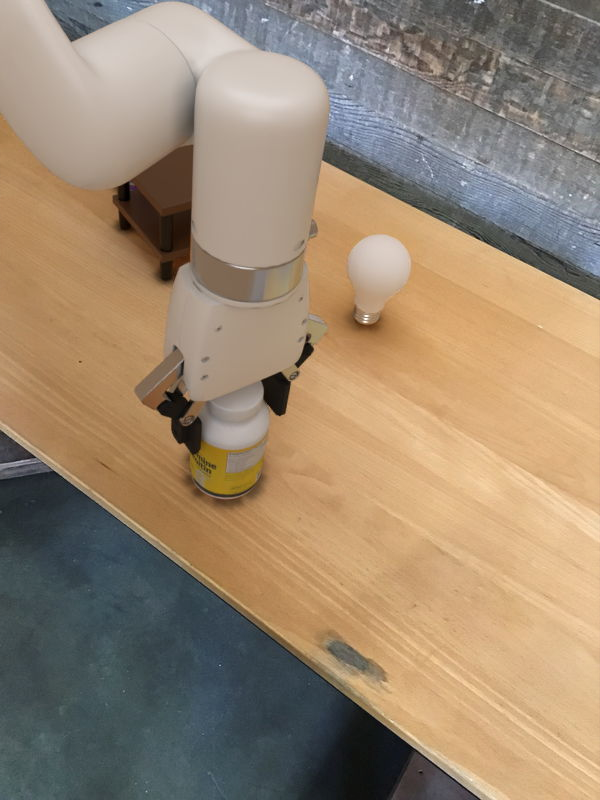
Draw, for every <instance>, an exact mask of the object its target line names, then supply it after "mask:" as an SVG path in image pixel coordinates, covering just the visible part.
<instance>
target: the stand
mask: <svg viewBox="0 0 600 800" xmlns="http://www.w3.org/2000/svg"><path fill="white" fill-rule="evenodd" d="M192 179H193V145H188V146H183V147H179V148H177V149H175V150H174V151H172V152H171V153H169V154H168V155H166V156H165V157H164V158H162V159H161V160H159V161H158V162H156V163H155V164H153V165H152V166H150V167H149V168H148V169H146V170H145V171H143V172H142V173H140V174H139V175H137V176H136V177H134V178H133V179H131V181H132V182H133V183H134V185H135V186H136V187H137V188H138V189H136V190H132V191H130V181H128V182H126V183H124V184H123V185H120V186H118V187H116V190H117V191H116V192H117V194H113V195H111V196H112V198H111V199H112V203H113V205H114V206H115V207H116V208H117V210H118V226H119V229H120V230H123V231H129V230H131V229H132V228H133V229H134V231H135V232H136V233H137V234H138V236H140V237H141V239H142V240H143V241H144V243H146V245H147V246H148V248H150V250H151V251H152V252H153V254H154V255H155V256H156V257H157V258H158V260H159V278H160V279H161V281H165V282H169V281H171V280H172V279H173V277H174V275H173V274H174V273H173V271H174V270H173V269H174V265H173V263H174V260H178V259H181V258H183V257H187V256H190V244H191V212H192Z"/></svg>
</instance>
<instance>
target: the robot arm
mask: <svg viewBox="0 0 600 800" xmlns="http://www.w3.org/2000/svg"><path fill="white" fill-rule="evenodd" d="M330 99H331V98H330V94H329V89H328V88H327V86H326V84H325V82H324V80H323V78H322V77H321V76H320V75H319V73H317V72H316V71H315V70H314V69H313V68H312V67H310V66H309V65H307V64H306V63H305V62H303V61H301V60H298V59H297V58H294V57H292V56H288V55H286V54H283V53H282V54H281V53H280V52H279V53H278V52H273V51H267V50H261V49H260V48H258V47H257V46H255V45H253V44H252V43H251V42H249V41H247V40H246V39H244V38H243V37H241V35H239V34H237V33H236V32H235V31H233V30H232V29H230V28H229V27H227V26H226V24H223V23H222V22H221V21H220V20H218V19H217V18H215V17H214V16H212V15H210V13H207V12H206V11H205V10H203V9H201V8H199V7H196V6H194V5H192V4H189V3H188V2H181V1H167V0H166V1H163V2H158V3H155V4H153V5H149V6H146V7H145V8H143V9H141V10H139V11H137V12H134V13H132V14H130V15H127V16H126V17H124V18H122V19H119V20H116V21H114V22H111V23H109V24H107V25H105V26H103V27H101V28H99V29H97V30H94V31H92V32H90V33H87V34H86V35H84V36H81V37H80V38H77V39H75V40H73V41H71V40H70V38H69V37H68V35H67V34H66V32H65V31H64V29H63V28H62V27H61V25H60V23H59V22H58V20H57V19H56V17H55V16H54V14H53V12H52V11H51V9H50V7H49V6H48V4H47V2H46V1H45V0H0V114H1V116H2V117H3V118H4V120H5V121H6V122H7V124H8V126H9V127H10V128H11V129H12V131H13V132H14V133H15V135H16V136H17V138H18V139H19V141H20V142H22V144H23V145H24V146H25V147H26V148H27V150H28V151H29V152H30V153H31V155H32V156H33V157H34V158H35V159H36V161H38V162H39V163H40V164H41V165H42V166H43V167H44V168H45V169H46V170H47V171H49V172H50V173H51V174H52V175H53V176H55V178H57V179H59V180H61V181H62V182H63V183H66V184H68V185H69V186H71V187H73V188H77V189H80V190H83V191H87V192H103V191H108V190H112V189H115V188H117V187H118V186H120V185H123V184H124V183H126V182H128V181H130V180H131V179H133V178H134V177H136V176H137V175H139V174H140V173H142V172H143V171H145V170H146V169H148V168H149V167H150V166H152V165H153V164H155V163H156V162H158V161H159V160H161V159H162V158H164V157H165V156H166V155H168V154H169V153H171V152H172V151H174V150H175V149H177V148H179V147H183V146H188V145H193V179H192V212H191V244H190V255H189V261H188V262H186V263H184V264H182V265H181V266H179V268H178V270H177V272H176V276H175V279H174V282H173V285H172V289H171V292H170V296H169V301H168V304H167V314H166V317H165V318H166V319H165V328H164V337H163V338H164V339H163V352H162V353H163V360H162V362H160V363H159V364H157V366H156V367H155V368H154V369H153V370H152V371H151V372H149V374H148V375H147V376H146V377H145V378H143V379H142V380H141V381H140V382H139V383H138V384H137V385H136V386H135V388H134V390H133V392H134V394H135V395H136V397H137V398H138V399H139V401H140V402H141V404H142V405H143V406H145V407H147V408H149V409H151V410H153V411H156V412H158V413H159V414H160V415H161V417H165V418H168V419H170V430H171V431H170V432H171V435H172V437H173V438H174V440H175V441H176V442H177V443H178V445H182V444H184V446H185V447H186V448H187V450H188V451H189V454H190V453H191V454H192V455H194V454H197V453H199V450H201V434H202V422H201V420H200V418H199V417H198V415H199V413H200V411H201V410H202V408H203V407H204V405H205V404H206V402H207V401H208V400H212V399H215V398H218V397H220V396H223V395H225V394H228V393H230V392H233V391H235V390H238V389H240V388H243V387H245V386H248V385H250V384H252V383H255V382H257V381H260V380H261V382H262V385H263V389H264V394H263V399H264V401H265V402H266V404H267V406H268V408H269V409H270V410H271V411H272V412H273V413H274V415H275V416H277V417H282V416H284V415H286V412H287V407H288V403H289V402H288V401H289V397H290V390H291V386H292V382H294V381H296V380H297V379H298V378H299V376H300V375H301V371H300V369H299V368H300V367H301V366H302V365H303V364H304V363H305V362H306V361H307V360H308V359H309V358H310V357H311V356H312V354H313V353H314V351H315V348H314V346H316V345H317V344H318V343H319V342H320V341H321V339H322V338H323V337H324V336H325V334H326V333H327V332H328V330H329V325H328V324H327V323H326V322H325V320H324V319H323V318H322V317H321V316H320V315H317V314H315V313H311V312H310V302H311V301H310V298H311V294H310V293H311V292H310V291H311V290H310V278H309V277H310V276H309V270H308V269H309V268H308V265H307V262H306V260H305V259H306V253H307V248H308V243H309V241H310V240H311V239H314V238H316V237H317V236H318V234H319V229H318V224H317V223H316V221H315V220H314V219H313V213H314V209H315V203H316V196H317V191H318V186H319V180H320V174H321V169H322V162H323V156H324V151H325V145H326V140H327V135H328V134H327V133H328V128H329V123H330V113H331V100H330ZM187 391H188V397H189V400H188V399H187V397H186V396H185V395H186V393H187Z"/></svg>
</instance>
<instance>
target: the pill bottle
mask: <svg viewBox="0 0 600 800" xmlns="http://www.w3.org/2000/svg"><path fill="white" fill-rule="evenodd" d="M263 394H264V389H263V385H262V382H261V380H260V381H257V382H255V383H252V384H250V385H248V386H245V387H243V388H240V389H238V390H235V391H233V392H230V393H228V394H225V395H223V396H220V397H218V398H215V399H212V400H208V401H207V402H206V404H205V405H204V407H203V408H202V410H201V411H200V413H199V415H198V417H199V418H200V420H201V422H202V434H201V450H199V453H197V454H194V455H192V454H191V453H190V452H189V473H190V477H191V480H192V481H193V483H194V484H195V486H196V487H197V488H198V489H199V490H200V491H201V492H202V493H204V494H205V495H207V496H209V497H212V498H214V499H218V500H219V499H220V500H232V499H239V498H240V497H243V496H245V495H247V494H248V493H250V492H251V491H252V490H253V489H254V488H255V487H256V486H257V484H258V483H259V481H260V478H261V475H262V470H263V465H264V459H265V454H266V447H267V443H268V438H269V437H268V436H269V432H270V426H271V413H270V412H271V411H270V407H269V406H268V405H267V403H266V402H265V401H264V399H263Z"/></svg>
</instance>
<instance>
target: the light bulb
mask: <svg viewBox="0 0 600 800" xmlns="http://www.w3.org/2000/svg"><path fill="white" fill-rule="evenodd" d="M346 272H347V278H348V280H349V282H350V284H351V286H352V288H353V291H354V299H353V301H354V305H353V310H352V316H353V318H354V319H355V321H356V322H357V323H359V324H362V325H365V326H370V325H374V324H375V323H377V321H378V320H379V319H380V317H381V312H382V310H383V309H384V308H385V306H386V304H387V302H388V301H389V300H390V299H392V298H393V297H394V296H396V294H398V293H399V292H401V291H402V290H403V289H404V287H405V286H406V285H407V284H408V281H409V279H410V277H411V272H412V260H411V256H410V254H409V251H408V249H407V248H406V246H405V245H404V244H403V242H401V241H400V240H399V239H397V238H395V237H393V236H391V235H388V234H381V233H379V234H371V235H368V236H366V237H364V238H362V239H361V240H359V241H358V242H357V243H356V244H355V245H354V246H353V247H352V249H351V251H350V252H349V254H348V258H347V263H346Z"/></svg>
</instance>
